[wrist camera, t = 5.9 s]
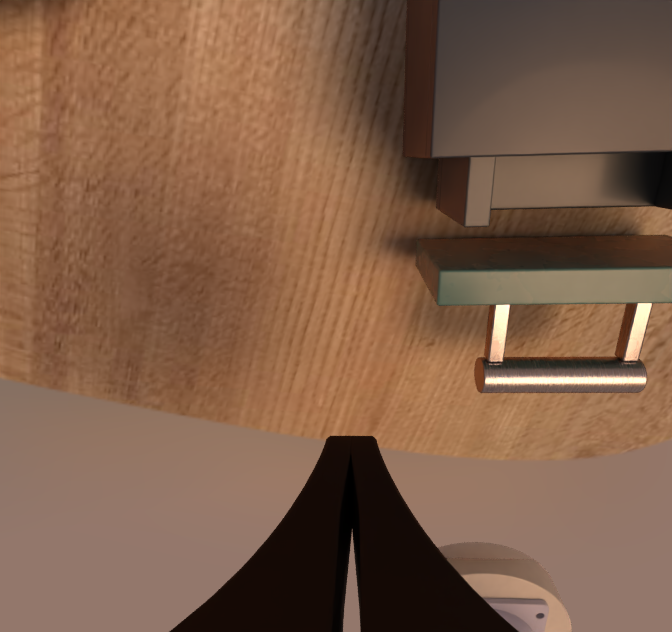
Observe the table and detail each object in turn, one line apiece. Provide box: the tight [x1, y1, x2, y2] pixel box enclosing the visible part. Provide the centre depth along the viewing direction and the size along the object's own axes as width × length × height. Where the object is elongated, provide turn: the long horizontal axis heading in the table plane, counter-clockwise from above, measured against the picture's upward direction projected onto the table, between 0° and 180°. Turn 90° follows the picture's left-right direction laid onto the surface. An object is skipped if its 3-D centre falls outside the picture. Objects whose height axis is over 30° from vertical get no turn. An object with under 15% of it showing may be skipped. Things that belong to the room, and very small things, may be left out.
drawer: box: [416, 152, 672, 393], centre depth 14 cm, size 17×10×5 cm, turn 1°
